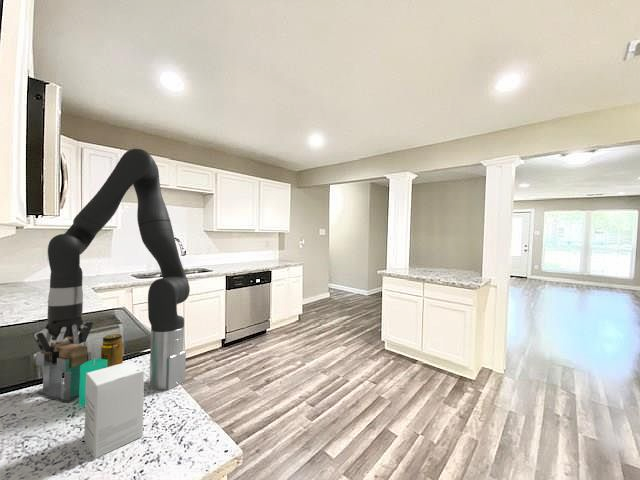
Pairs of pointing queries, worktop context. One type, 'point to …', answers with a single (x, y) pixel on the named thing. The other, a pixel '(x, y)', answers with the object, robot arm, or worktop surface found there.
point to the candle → (84, 369)
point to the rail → (72, 353)
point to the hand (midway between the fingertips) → (63, 361)
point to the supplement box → (113, 407)
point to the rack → (59, 378)
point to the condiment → (112, 349)
